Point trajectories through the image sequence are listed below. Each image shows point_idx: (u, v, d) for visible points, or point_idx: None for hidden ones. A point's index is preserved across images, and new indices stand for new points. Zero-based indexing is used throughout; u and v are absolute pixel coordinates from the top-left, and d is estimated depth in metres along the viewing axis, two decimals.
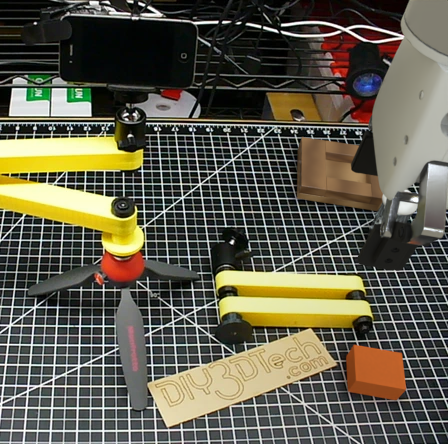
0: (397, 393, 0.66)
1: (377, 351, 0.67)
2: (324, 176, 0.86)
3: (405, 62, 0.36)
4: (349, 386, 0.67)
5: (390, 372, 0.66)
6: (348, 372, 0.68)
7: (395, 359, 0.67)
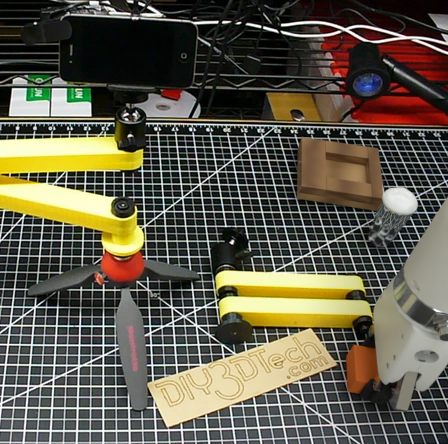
0: None
1: None
2: (324, 176, 0.86)
3: (394, 305, 0.58)
4: (349, 386, 0.67)
5: None
6: (348, 372, 0.68)
7: None
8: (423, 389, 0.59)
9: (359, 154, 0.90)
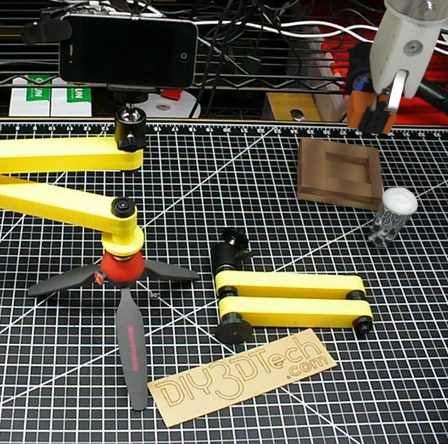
0: (389, 123, 0.78)
1: (373, 94, 0.80)
2: (324, 176, 0.86)
3: (386, 21, 0.70)
4: (349, 122, 0.79)
5: None
6: (348, 114, 0.80)
7: None
8: (411, 94, 0.71)
9: (359, 154, 0.90)
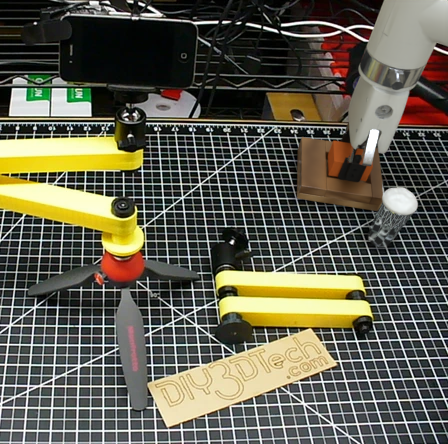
0: (366, 172, 0.85)
1: None
2: (324, 176, 0.86)
3: (361, 84, 0.77)
4: (329, 170, 0.86)
5: None
6: (329, 162, 0.88)
7: None
8: (383, 149, 0.78)
9: None
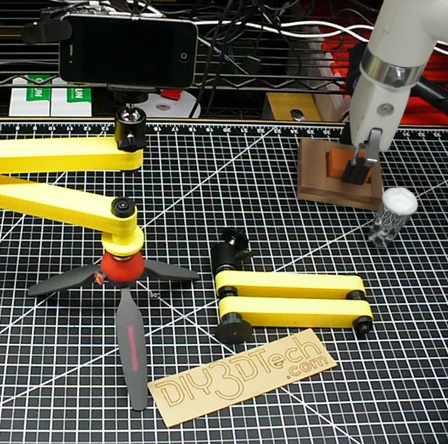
0: None
1: (350, 152, 0.88)
2: (324, 176, 0.86)
3: (362, 82, 0.77)
4: None
5: None
6: (327, 169, 0.89)
7: (363, 156, 0.87)
8: (385, 148, 0.78)
9: None
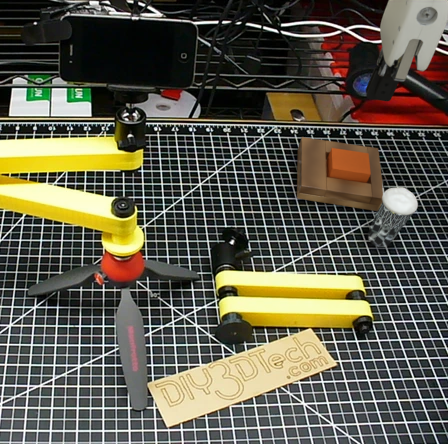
0: (364, 179, 0.86)
1: (350, 152, 0.88)
2: (324, 176, 0.86)
3: None
4: None
5: (358, 164, 0.86)
6: (327, 169, 0.89)
7: (363, 156, 0.87)
8: (424, 65, 0.68)
9: None
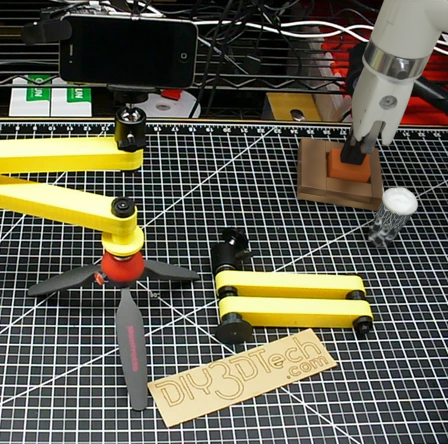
0: (364, 179, 0.86)
1: None
2: (324, 176, 0.86)
3: (365, 75, 0.76)
4: None
5: None
6: (327, 169, 0.89)
7: None
8: (388, 141, 0.77)
9: None
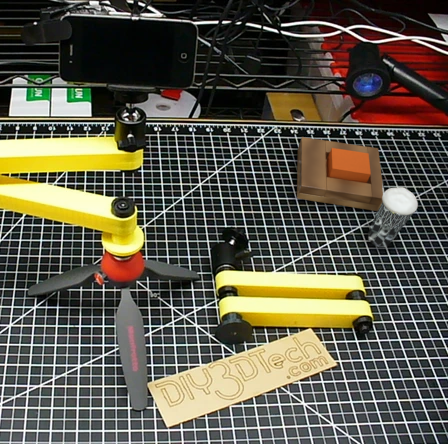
0: (364, 179, 0.86)
1: (350, 152, 0.88)
2: (324, 176, 0.86)
3: None
4: None
5: (358, 164, 0.86)
6: (327, 169, 0.89)
7: (363, 156, 0.87)
8: None
9: None
